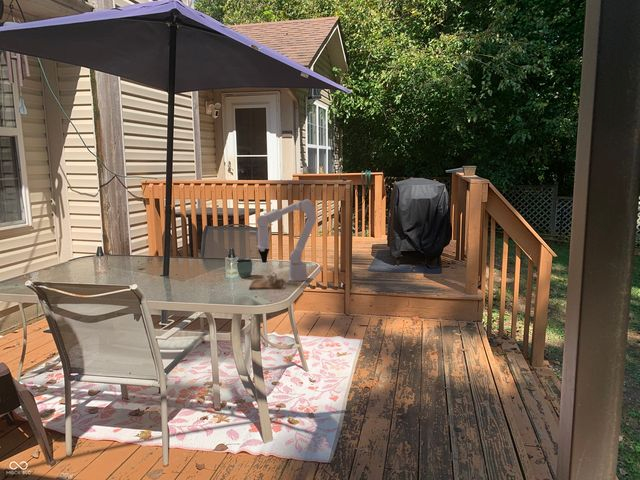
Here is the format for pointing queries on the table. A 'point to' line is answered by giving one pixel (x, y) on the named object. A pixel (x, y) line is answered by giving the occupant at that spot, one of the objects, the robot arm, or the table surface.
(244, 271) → the flower pot
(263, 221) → the robot arm
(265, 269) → the table surface
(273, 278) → the link
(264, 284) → the hinge board
